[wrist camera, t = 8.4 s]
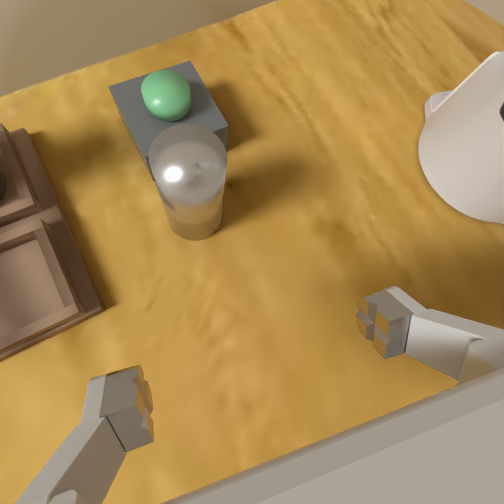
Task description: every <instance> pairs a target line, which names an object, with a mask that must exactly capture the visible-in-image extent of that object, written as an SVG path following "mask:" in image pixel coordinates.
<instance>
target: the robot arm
mask: <svg viewBox="0 0 504 504" xmlns="http://www.w3.org/2000/svg"><path fill="white" fill-rule="evenodd" d="M425 119H426V121H425V125H424V128H423V130H422V132H421V135H420V139H419V146H418V151H419V159H420V163H421V166H422V169H423V172H424V174H425V176H426V178H427V180H428V181H429V183H430V184H431V186H432V187H433V189H434V190H435V191H436V192H437V193H438V195H439V196H440V197H441V198H442V199H443V200H445V201H446V202H447V203H448V204H449V205H451V206H452V207H453V208H455V209H456V210H458V211H460V212H461V213H463V214H465V215H467V216H470V217H472V218H475V219H478V220H482V221H487V222H495V223H501V224H504V51H502V52H495V53H493V54H492V55H490V56H489V57H488V58H487V59H486V60H485V61H484V62H483V63H482V64H480V65H479V66H478V67H477V68H476V69H475V70H474V71H473V72H472V73H471V74H470V75H469V76H468V77H467V78H466V79H465V80H464V81H463V82H462V83H461V84H460V85H459V86H458V87H457V88H455V89H454V90H451V91H445V92H440V93H435V94H433V95H432V96H431V97H430V98H429V99H427V100H426V102H425ZM357 306H358V307H359V308H360V311H359V312H358V314H357V324H358V328H359V330H360V331H361V333H362V334H363V336H364V337H365V338H366V339H369V340H371V341H373V347H374V348H375V349H376V350H377V351H378V353H379V354H380V355H381V356H382V357H383V358H384V359H387V358H390V357H393V356H396V355H400V354H403V353H405V354H406V355H408V356H410V357H412V358H414V359H416V360H418V361H420V362H422V363H424V364H426V365H428V366H430V367H432V368H434V369H436V370H438V371H440V372H442V373H444V374H446V375H448V376H450V377H452V378H454V379H456V380H458V383H457V386H455V387H453V388H450V389H448V390H445V391H443V392H440V393H438V394H435V395H433V396H430V397H428V398H425V399H423V400H420V401H417V402H415V403H412V404H410V405H407V406H405V407H402V408H400V409H397V410H395V411H392V412H390V413H387V414H385V415H382V416H380V417H377V418H375V419H372V420H370V421H367V422H365V423H362V424H360V425H357V426H355V427H352V428H350V429H347V430H345V431H342V432H340V433H337V434H335V435H332V436H330V437H327V438H325V439H322V440H320V441H317V442H315V443H312V444H310V445H307V446H305V447H302V448H300V449H297V450H294V451H292V452H289V453H287V454H284V455H282V456H279V457H277V458H274V459H272V460H269V461H267V462H264V463H262V464H259V465H257V466H254V467H252V468H249V469H247V470H244V471H242V472H239V473H237V474H234V475H232V476H229V477H227V478H224V479H222V480H219V481H216V482H214V483H211V484H209V485H206V486H204V487H201V488H199V489H196V490H194V491H191V492H189V493H186V494H184V495H181V496H179V497H176V498H174V499H171V500H169V501H166V502H164V503H161V504H504V330H503V329H500V328H496V327H493V326H490V325H486V324H483V323H479V322H476V321H472V320H469V319H465V318H462V317H458V316H455V315H451V314H448V313H444V312H441V311H437V310H434V309H428V310H427V309H426V308H425V307H423V306H422V305H421V304H419V303H418V302H417V301H415V300H414V299H413V298H412V297H410V296H409V295H408V294H406V293H405V292H404V291H403V290H401V289H400V288H399V287H396V286H392V287H389V288H386V289H383V290H380V291H377V292H374V293H371V294H367V295H364V296H361V297H359V299H358V303H357ZM152 411H153V401H152V395H151V390H150V387H149V384H148V382H147V381H145V380H144V372H143V370H142V368H141V366H140V365H136V366H132V367H129V368H125V369H122V370H118V371H115V372H111V373H108V374H105V375H102V376H98V377H94V378H91V380H90V381H89V383H88V388H87V393H86V399H85V404H84V409H83V414H82V419H81V424H80V425H78V426H75V427H74V429H73V430H72V431H71V432H70V434H69V435H68V436H67V438H66V439H65V440H64V441H63V443H62V444H61V445H60V446H59V448H58V449H57V450H56V452H55V453H54V454H53V455H52V457H51V458H50V459H49V460H48V462H47V463H46V464H45V466H44V467H43V468H42V469H41V471H40V472H39V473H38V474H37V476H36V477H35V478H34V480H33V481H32V482H31V483H30V485H29V486H28V487H27V488H26V490H25V491H24V492H23V494H22V495H21V496H20V497H19V499H18V500H17V501H16V502H15V504H102V502H103V500H104V498H105V496H106V494H107V492H108V490H109V488H110V486H111V484H112V482H113V480H114V478H115V476H116V474H117V472H118V470H119V468H120V466H121V464H122V462H123V460H124V458H125V456H126V452H129V451H131V450H134V449H136V448H139V447H141V446H144V445H147V444H149V443H152V442H154V429H153V420H152V418H151V416H150V414H151V412H152Z"/></svg>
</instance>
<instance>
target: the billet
mask: <svg viewBox="0 0 504 504" xmlns="http://www.w3.org/2000/svg"><path fill="white" fill-rule="evenodd" d="M149 164H150V168H151V171H152V174H153V176H154V179H155V182H156V185H157V188H158V191H159V194H160V197H161V200H162V203H163V206H164V209H165V212H166V215H167V217H168V220H169V223H170V226H171V228H172V229H173V231H174V232H175V233H176V234H177V235H179V236H180V237H182V238H184V239H187V240H192V241H198V240H203V239H206V238H208V237H210V236H211V235H213V234H214V233H215V232H216V231H217V229H218V228H219V226H220V223H221V219H222V208H223V197H224V186H225V176H226V165H227V154H226V150H225V147H224V145H223V143H222V141H221V140H220V139H219V138H218V136H217V135H215V134H214V133H213V132H212V131H210V130H208V129H206V128H204V127H202V126H198V125H194V124H180V125H175V126H172V127H169V128H167V129H166V130H164V131H162V132H161V133H160V134H159V135H158V136H157V137H156V138H155V139H154V141H153V142H152V144H151V147H150V150H149Z"/></svg>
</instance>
